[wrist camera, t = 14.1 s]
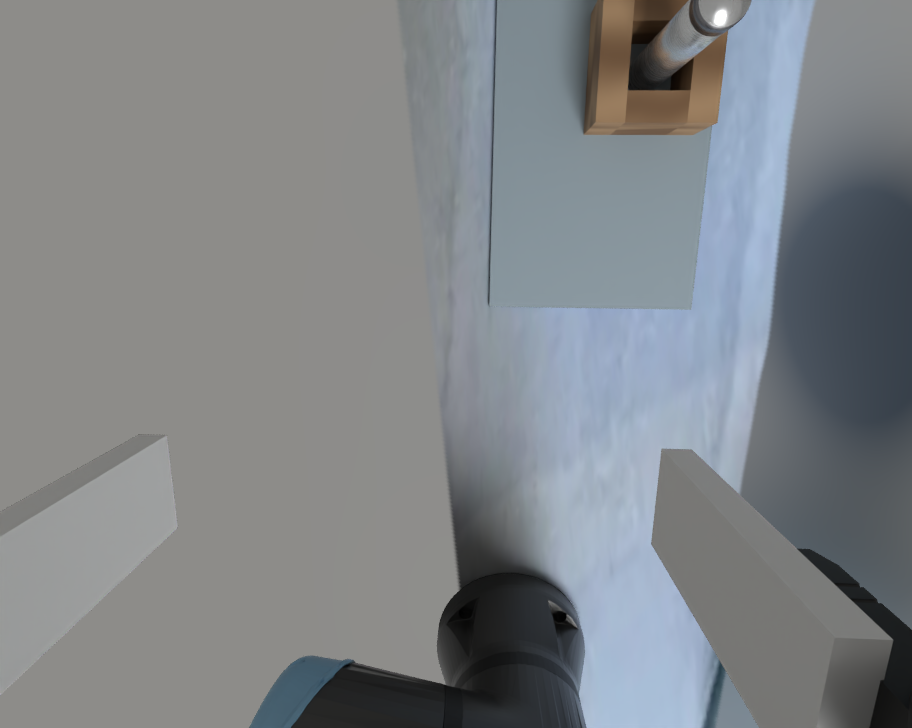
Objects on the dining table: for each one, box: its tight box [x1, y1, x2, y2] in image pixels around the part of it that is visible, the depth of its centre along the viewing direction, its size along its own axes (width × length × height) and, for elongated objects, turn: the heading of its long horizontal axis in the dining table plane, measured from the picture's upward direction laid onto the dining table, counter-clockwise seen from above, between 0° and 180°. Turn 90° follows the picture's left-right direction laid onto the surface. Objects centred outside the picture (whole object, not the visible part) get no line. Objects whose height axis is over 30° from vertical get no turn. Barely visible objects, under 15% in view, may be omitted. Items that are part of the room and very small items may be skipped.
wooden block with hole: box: [584, 0, 728, 135], centre depth 40 cm, size 9×9×4 cm
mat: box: [489, 0, 712, 310], centre depth 44 cm, size 26×18×1 cm
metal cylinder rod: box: [628, 0, 751, 90], centre depth 35 cm, size 3×3×14 cm
